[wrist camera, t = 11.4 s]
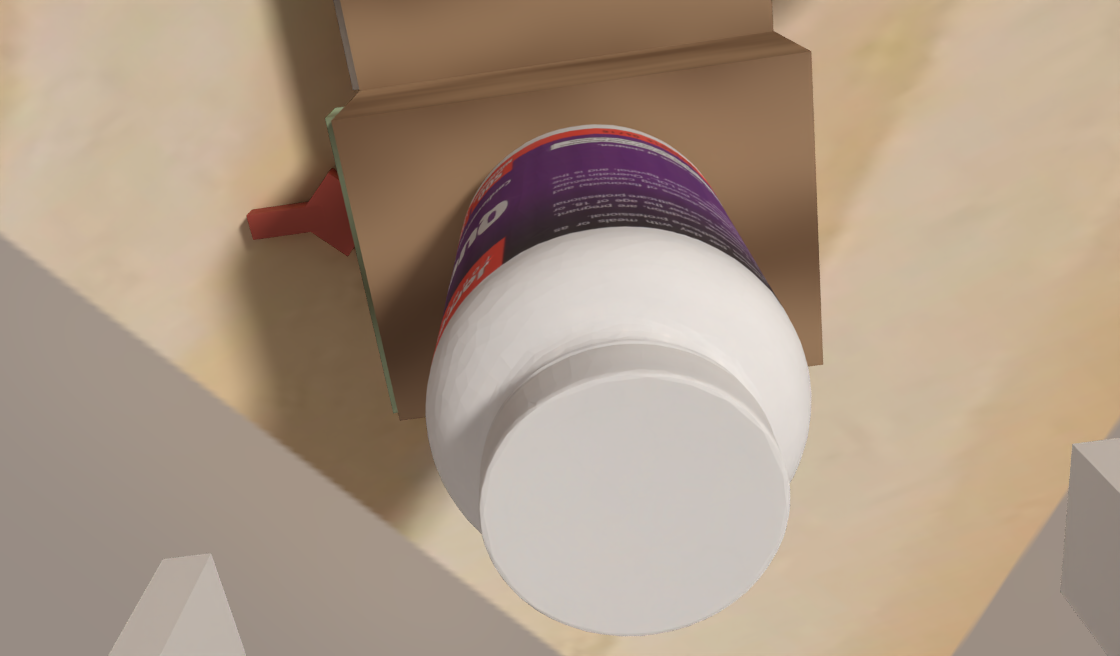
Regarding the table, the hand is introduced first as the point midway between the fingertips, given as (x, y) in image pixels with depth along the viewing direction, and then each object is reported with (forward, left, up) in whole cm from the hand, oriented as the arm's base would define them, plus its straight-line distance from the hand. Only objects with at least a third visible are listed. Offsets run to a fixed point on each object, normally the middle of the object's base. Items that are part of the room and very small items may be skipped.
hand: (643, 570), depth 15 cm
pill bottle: (0, 0, -17) cm, 17 cm away
